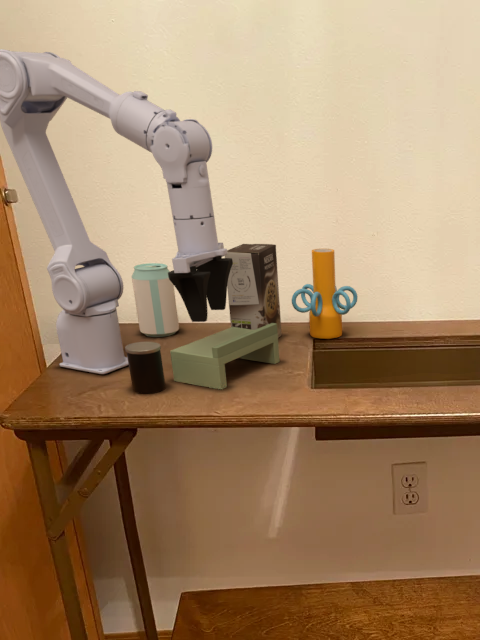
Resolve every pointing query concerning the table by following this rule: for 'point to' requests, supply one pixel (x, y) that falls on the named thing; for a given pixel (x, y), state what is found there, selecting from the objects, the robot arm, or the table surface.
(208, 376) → the shelf
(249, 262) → the coffee box
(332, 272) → the orange and blue post
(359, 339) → the table surface
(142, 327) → the can
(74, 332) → the robot arm
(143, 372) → the canister
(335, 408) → the table surface
